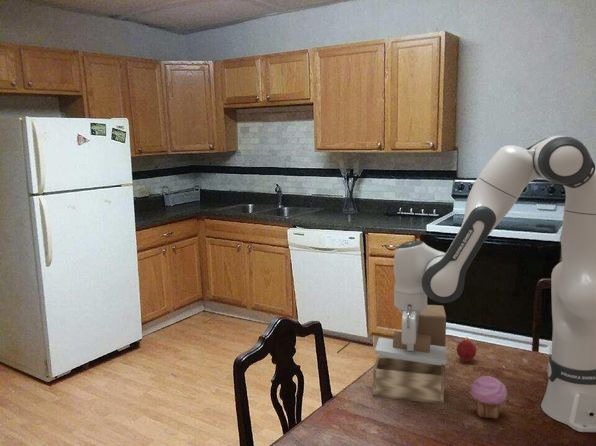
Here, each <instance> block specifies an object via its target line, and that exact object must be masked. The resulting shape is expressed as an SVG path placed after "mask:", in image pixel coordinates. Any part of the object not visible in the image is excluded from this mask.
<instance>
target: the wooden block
mask: <svg viewBox="0 0 596 446" xmlns="http://www.w3.org/2000/svg"><path fill="white" fill-rule="evenodd" d="M446 332H447V314H446V311H445V307H444V305H438V304H427V307H426V308H425V309H422V313H421V314H420V315H419V321H418V329H417V334H420V335H427V336H431V343H430V345H435V346H442V347H446V344H447V343H446V341H447V340H446V336H447V335H446V334H447V333H446ZM445 373H446V365H444V379H446V378H445V377H446V376H445V375H446V374H445Z"/></svg>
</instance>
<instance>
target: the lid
mask: <svg viewBox="0 0 596 446" xmlns="http://www.w3.org/2000/svg"><path fill="white" fill-rule="evenodd" d="M430 343H431V336H427V335H420V334H417V337H416V344H415V345H414V350H413V351H408V350H407V345H406V344H402V331H397V330H394V332H393V339H392V338H386V337H385V338H384V337H378V340H377V343H376V346H375V348H374V349H375V350H374V355H377V356H381V357H387V358H394V359H400V360H407V361H413V362H420V363H427V364H433V365H440V366H441V364H444V365H445V366H446V365H447V364H448V362H447V360H448V359H447V358H448V357H447V356H448V355H447V354H448V353H447V346H445V347H442V346H435V345H430Z"/></svg>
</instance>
